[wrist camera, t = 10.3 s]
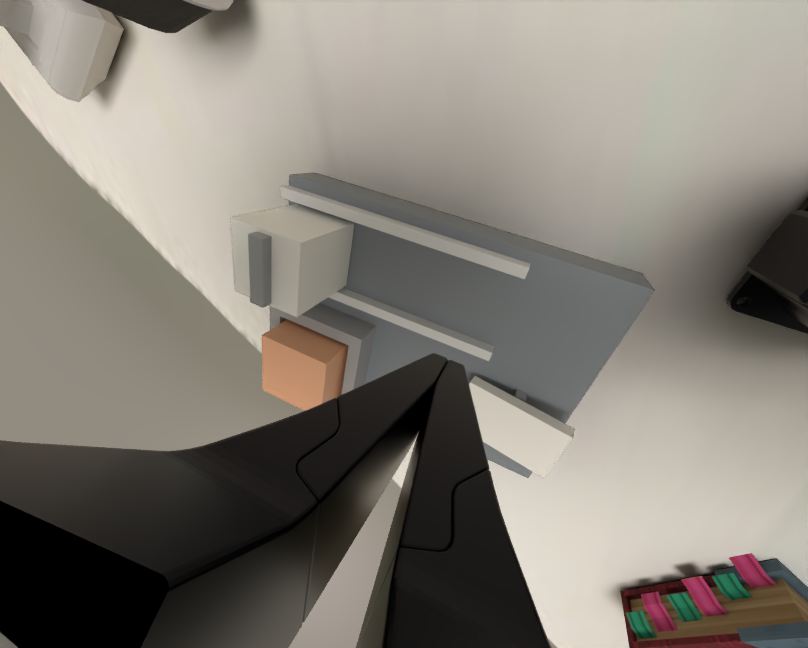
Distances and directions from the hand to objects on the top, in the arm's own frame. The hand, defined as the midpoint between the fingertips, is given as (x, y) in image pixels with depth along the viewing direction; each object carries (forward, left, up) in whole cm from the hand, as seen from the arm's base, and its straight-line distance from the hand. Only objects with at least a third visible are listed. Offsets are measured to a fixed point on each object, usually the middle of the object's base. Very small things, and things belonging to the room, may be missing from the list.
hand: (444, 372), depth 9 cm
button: (+9, +10, -10) cm, 17 cm away
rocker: (-4, +9, -9) cm, 13 cm away
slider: (+10, +2, -10) cm, 15 cm away
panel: (+3, +6, -13) cm, 15 cm away
